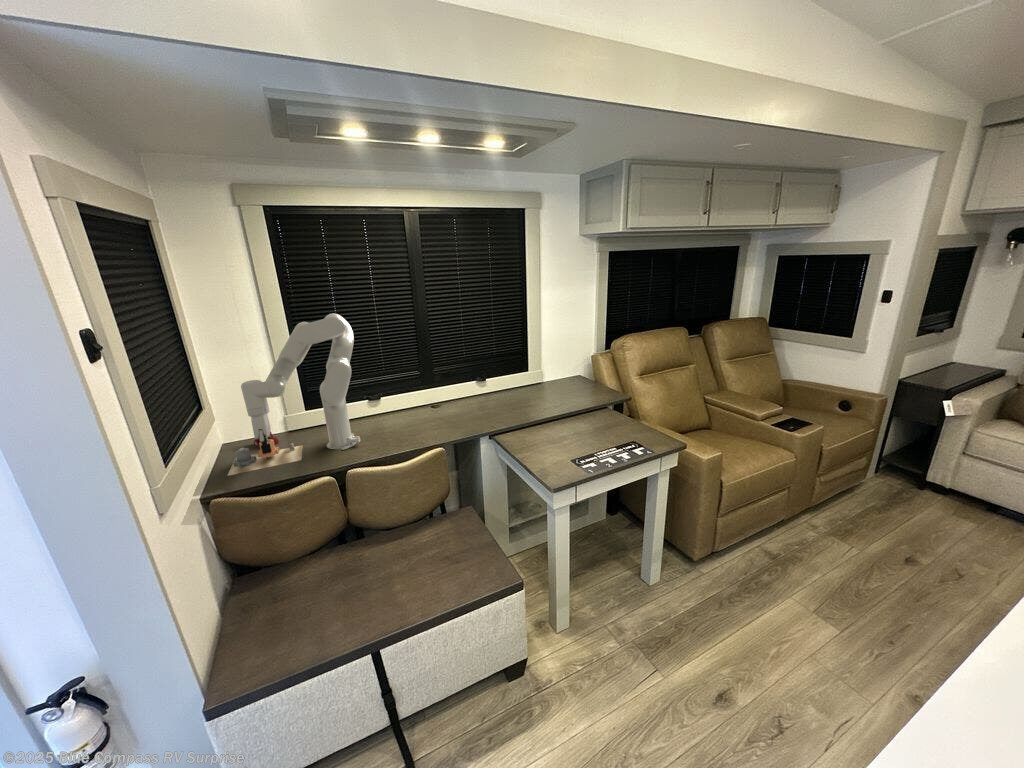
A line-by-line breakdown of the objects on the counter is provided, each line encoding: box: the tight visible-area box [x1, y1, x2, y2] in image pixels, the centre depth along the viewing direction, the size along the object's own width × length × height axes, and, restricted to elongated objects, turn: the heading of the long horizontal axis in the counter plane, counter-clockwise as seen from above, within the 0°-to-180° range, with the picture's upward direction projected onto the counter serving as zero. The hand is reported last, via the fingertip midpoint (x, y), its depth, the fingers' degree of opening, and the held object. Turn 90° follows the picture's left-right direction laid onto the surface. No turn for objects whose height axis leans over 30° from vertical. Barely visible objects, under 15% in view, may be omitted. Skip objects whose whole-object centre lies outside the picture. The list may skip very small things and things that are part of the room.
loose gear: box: [257, 439, 281, 458], centre depth 163 cm, size 8×8×6 cm
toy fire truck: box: [253, 430, 280, 447], centre depth 177 cm, size 7×12×10 cm, turn 57°
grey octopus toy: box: [232, 447, 257, 468], centre depth 160 cm, size 8×8×7 cm
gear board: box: [226, 442, 304, 477], centre depth 162 cm, size 26×16×8 cm, turn 116°
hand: (268, 449), depth 163 cm, fingers closed on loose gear, 4 cm apart
